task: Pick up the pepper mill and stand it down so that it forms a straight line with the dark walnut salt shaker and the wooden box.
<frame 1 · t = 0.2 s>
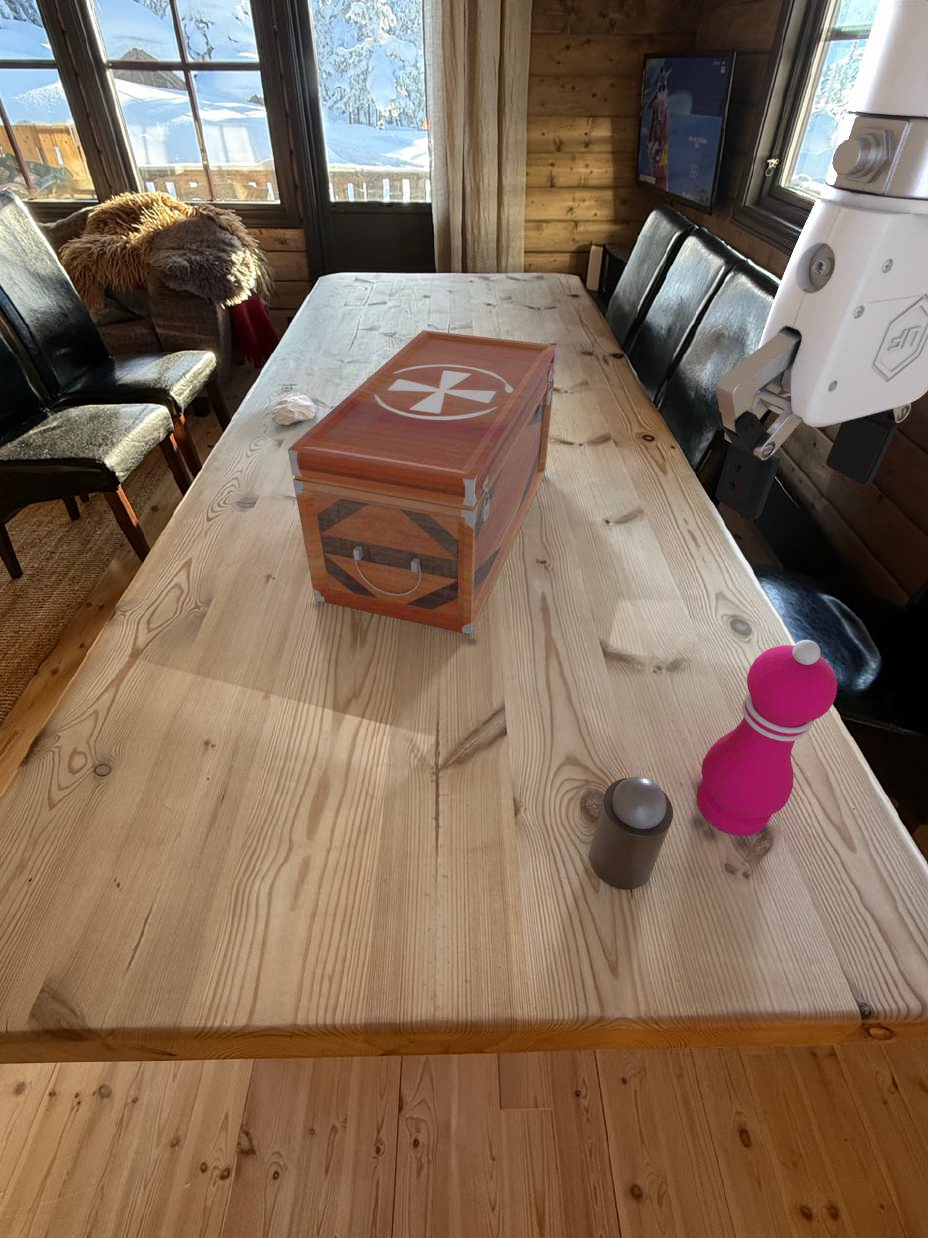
hand: (793, 490, 42), 30 cm above the table, tool pointing down, fingers open, 9 cm apart
wooden box: (446, 530, 93), on the table
salt shaker: (620, 860, 55), on the table
pepper mill: (731, 806, 59), on the table
stone: (295, 413, 122), on the table
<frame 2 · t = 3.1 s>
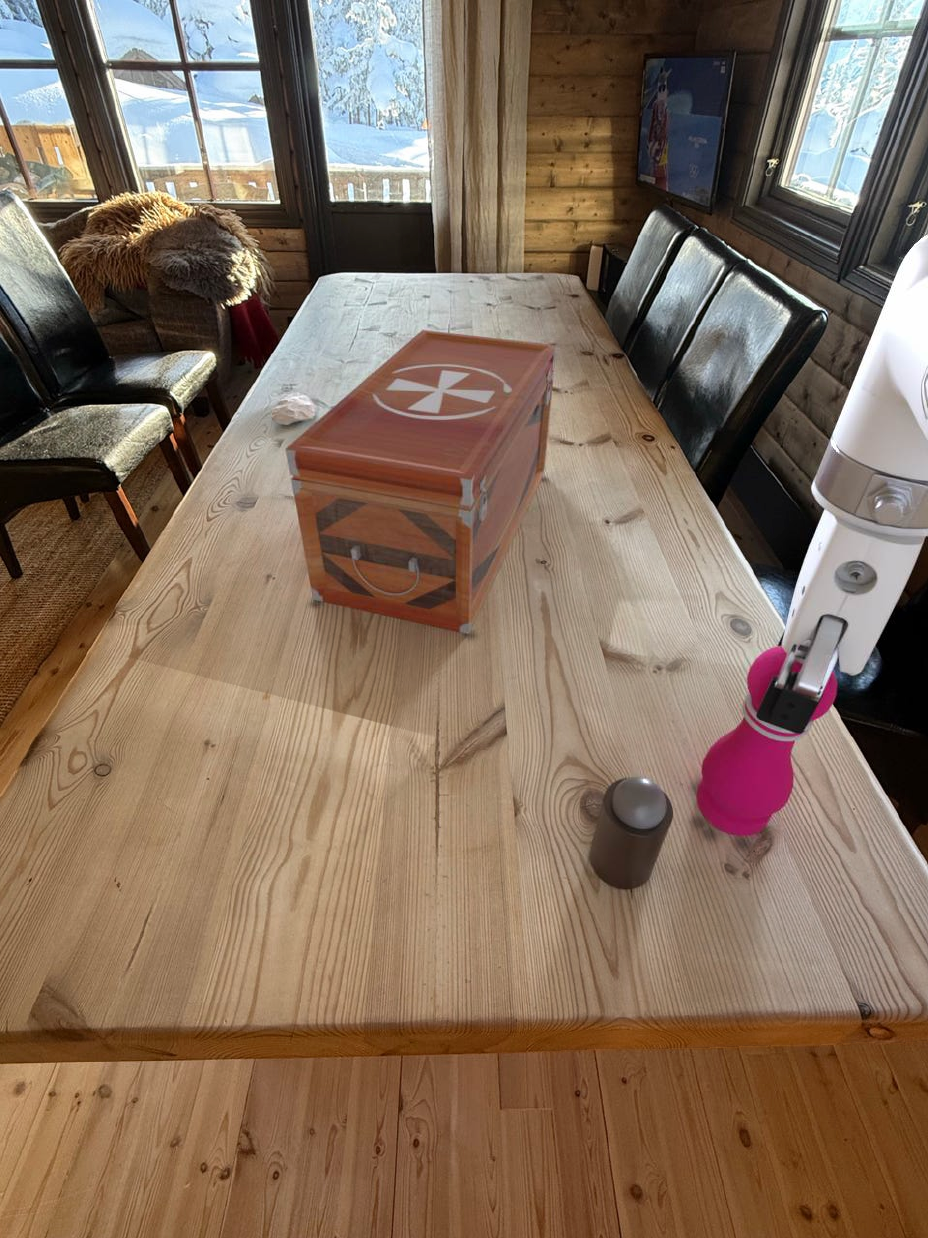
hand: (787, 691, 49), 15 cm above the table, tool pointing down, fingers closed on pepper mill, 6 cm apart
pepper mill: (731, 806, 59), on the table, touching gripper
everything else where it was.
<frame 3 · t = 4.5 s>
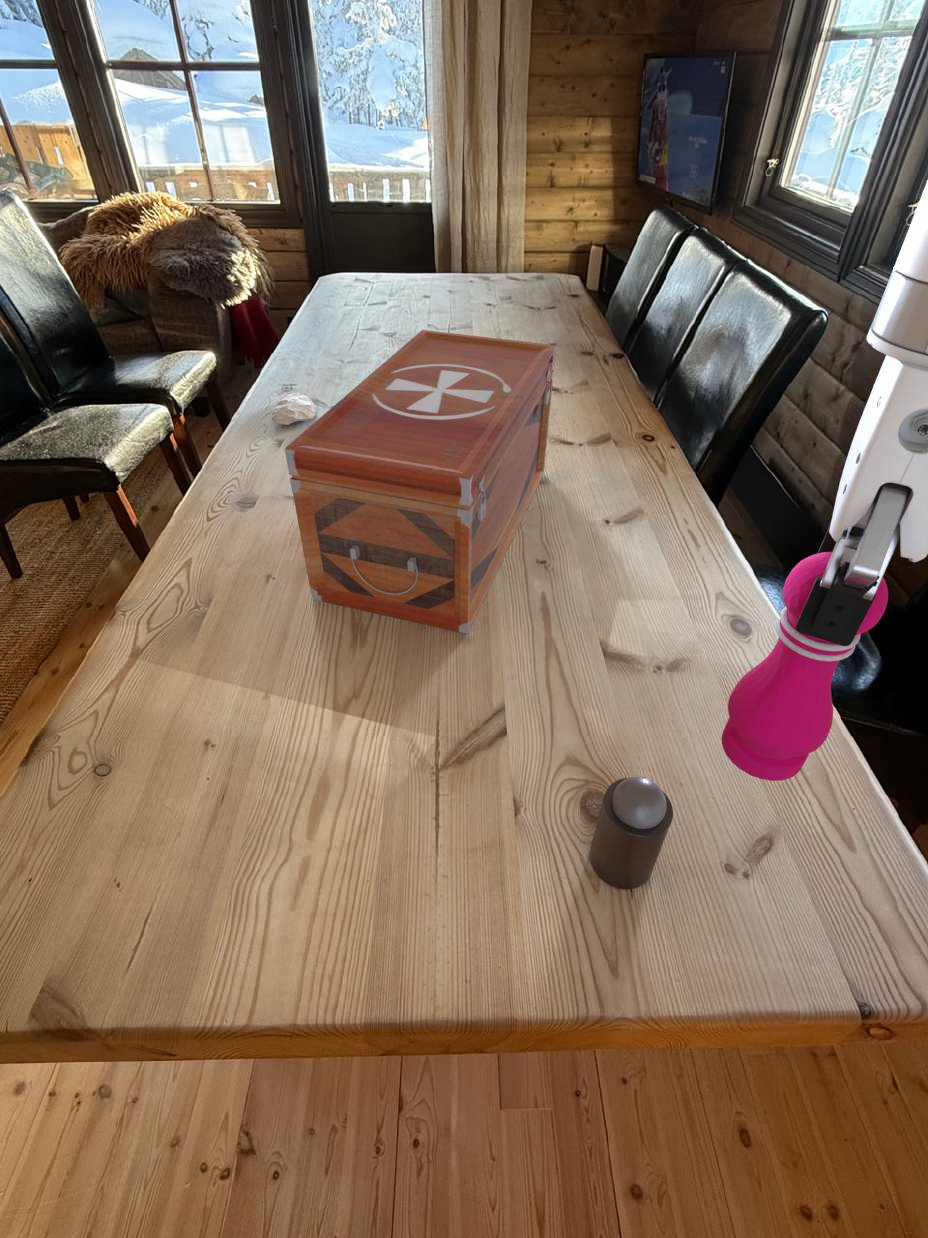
hand: (829, 605, 43), 24 cm above the table, tool pointing down, fingers closed on pepper mill, 6 cm apart
pepper mill: (760, 751, 53), point 8 cm above the table, touching gripper
everything else where it was.
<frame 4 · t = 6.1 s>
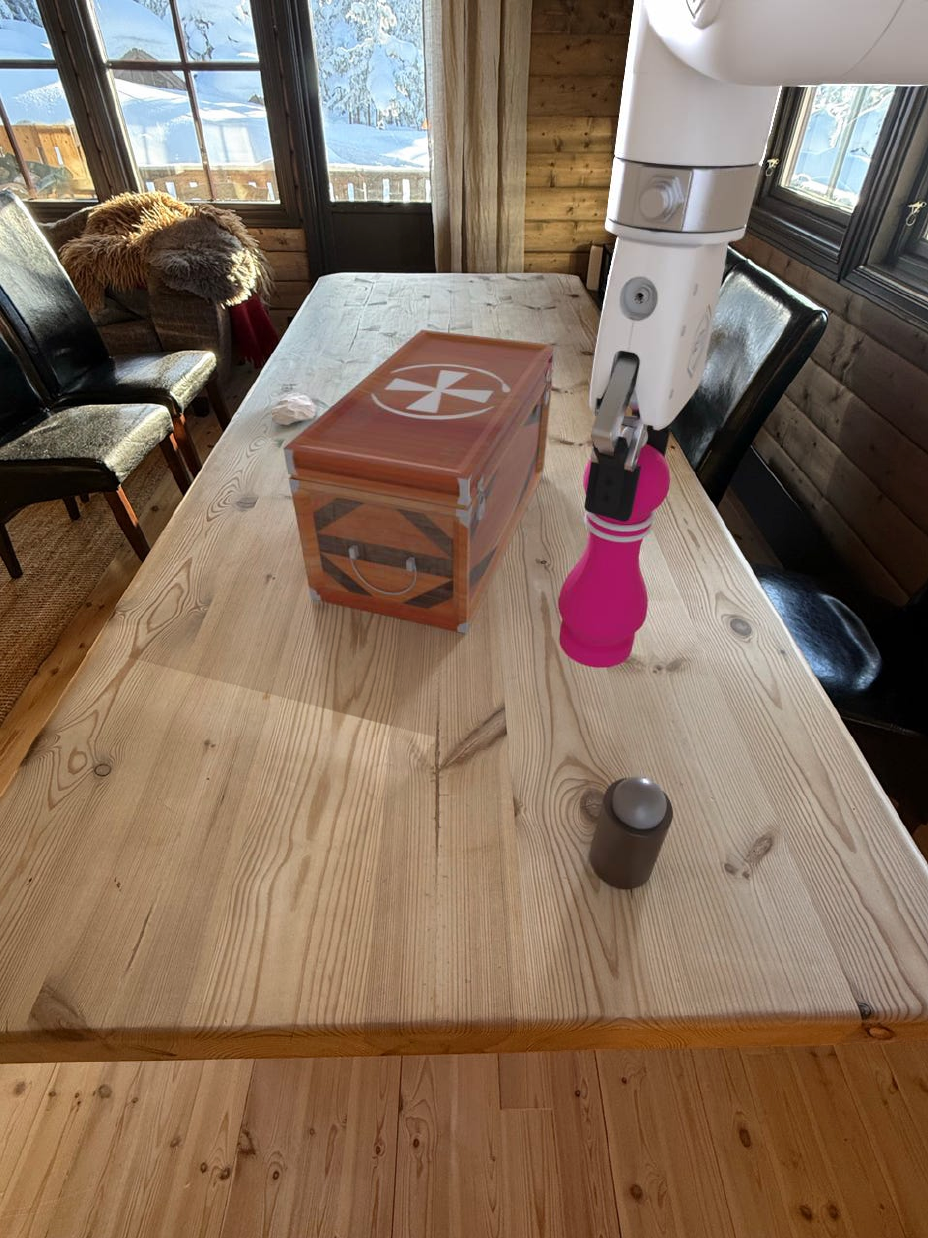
hand: (623, 490, 47), 27 cm above the table, tool pointing down, fingers closed on pepper mill, 6 cm apart
pepper mill: (594, 645, 57), point 12 cm above the table, touching gripper
everything else where it was.
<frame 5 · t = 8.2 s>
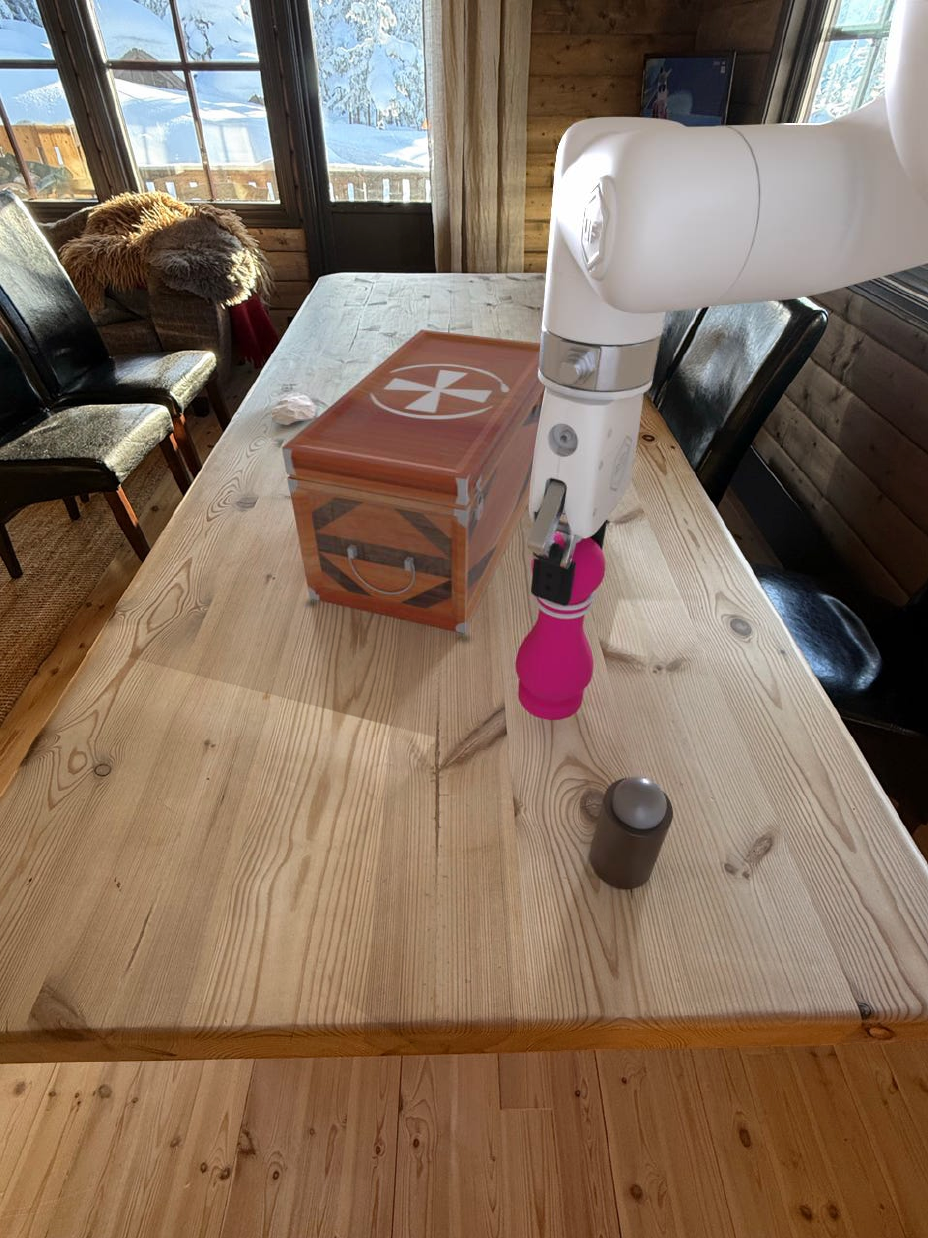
hand: (566, 574, 55), 18 cm above the table, tool pointing down, fingers closed on pepper mill, 6 cm apart
pepper mill: (549, 698, 64), point 3 cm above the table, touching gripper
everything else where it was.
when the fingers open (15 cm above the table, at t = 9.6 s): pepper mill stays where it is, on the table.
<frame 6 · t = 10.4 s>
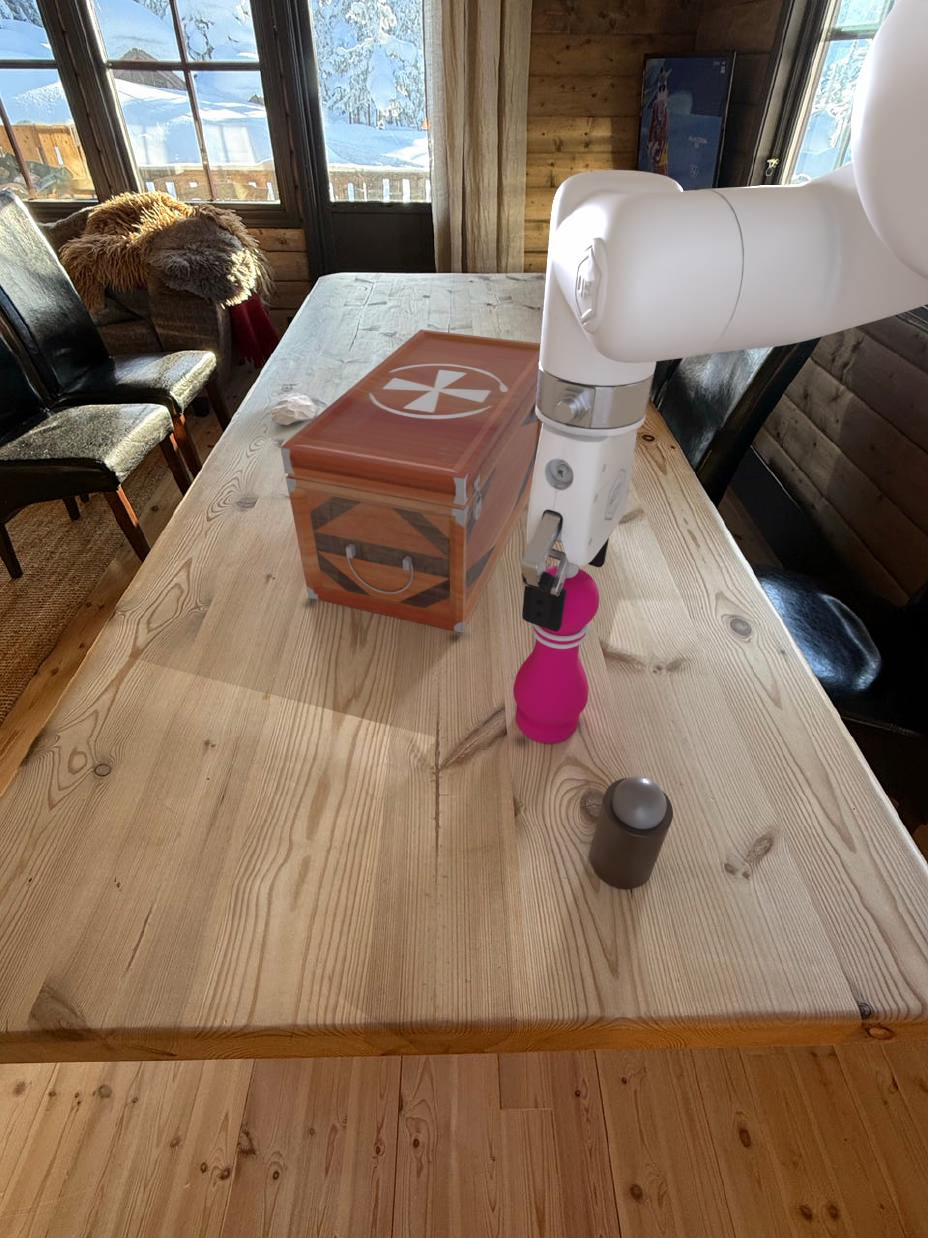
hand: (564, 591, 56), 17 cm above the table, tool pointing down, fingers open, 9 cm apart
pepper mill: (546, 721, 67), on the table
everything else where it was.
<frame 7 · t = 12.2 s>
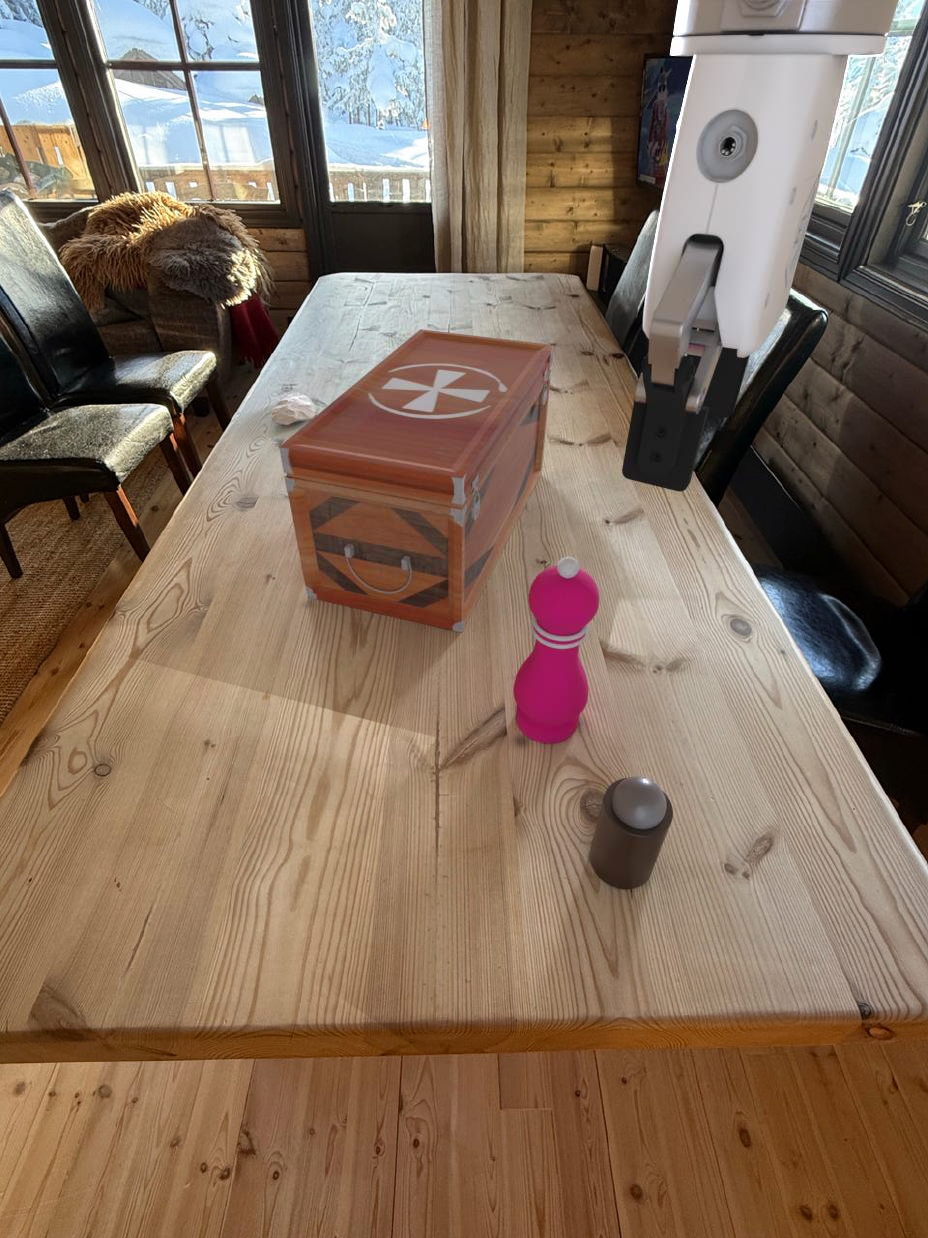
hand: (681, 443, 35), 35 cm above the table, tool pointing down, fingers open, 9 cm apart
nothing on the table moved.
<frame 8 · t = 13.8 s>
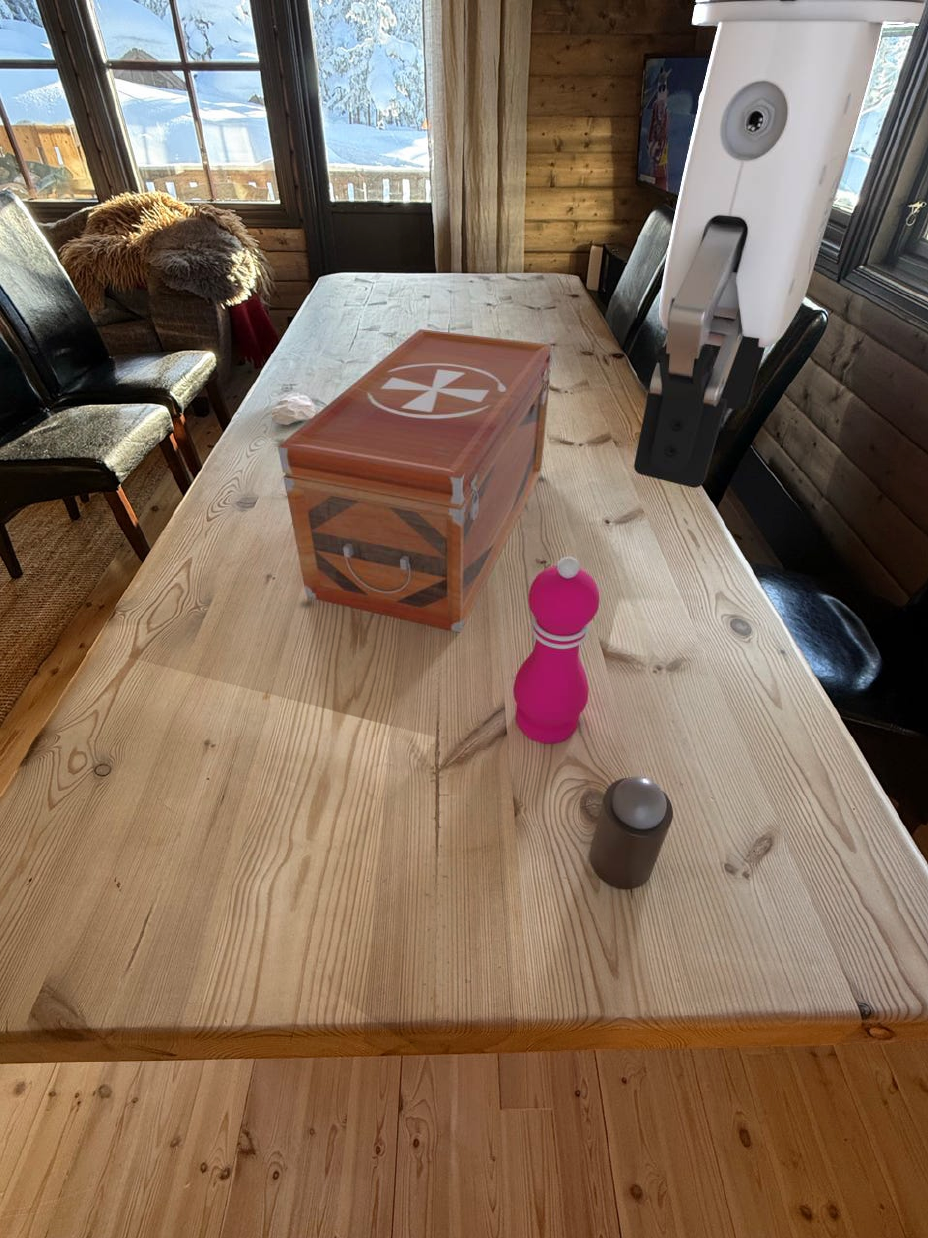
hand: (694, 437, 34), 36 cm above the table, tool pointing down, fingers open, 9 cm apart
nothing on the table moved.
at the end: pepper mill 0.1 cm from the target spot on the table beside the salt shaker, on the table; pepper mill tilted 0°; wooden box moved 1.0 cm from its start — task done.
